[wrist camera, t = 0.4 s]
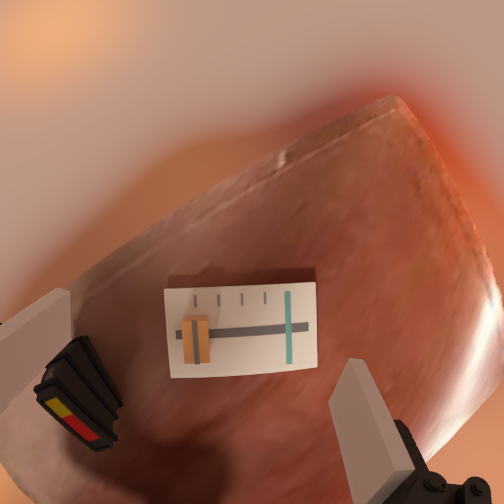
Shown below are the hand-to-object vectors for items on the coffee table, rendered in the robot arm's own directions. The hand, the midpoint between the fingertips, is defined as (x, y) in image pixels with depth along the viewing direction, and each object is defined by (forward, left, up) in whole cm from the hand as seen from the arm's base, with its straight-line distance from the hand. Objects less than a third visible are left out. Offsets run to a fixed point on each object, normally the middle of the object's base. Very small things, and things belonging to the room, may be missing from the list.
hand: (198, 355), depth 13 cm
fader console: (-4, -5, -29) cm, 30 cm away
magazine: (-11, +16, -29) cm, 35 cm away
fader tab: (-4, +1, -27) cm, 27 cm away
